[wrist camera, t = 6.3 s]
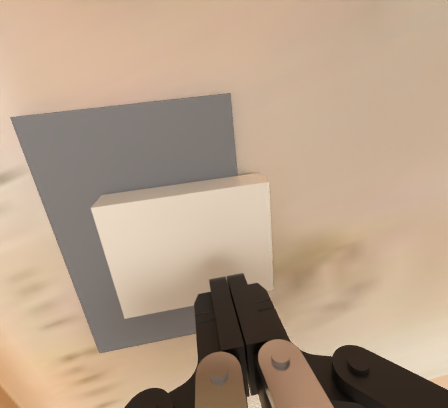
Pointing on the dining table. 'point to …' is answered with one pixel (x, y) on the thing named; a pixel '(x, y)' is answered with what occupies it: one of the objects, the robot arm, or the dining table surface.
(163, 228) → the tile
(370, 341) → the dining table surface
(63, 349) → the dining table surface
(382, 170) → the dining table surface
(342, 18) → the dining table surface
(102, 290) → the mat
